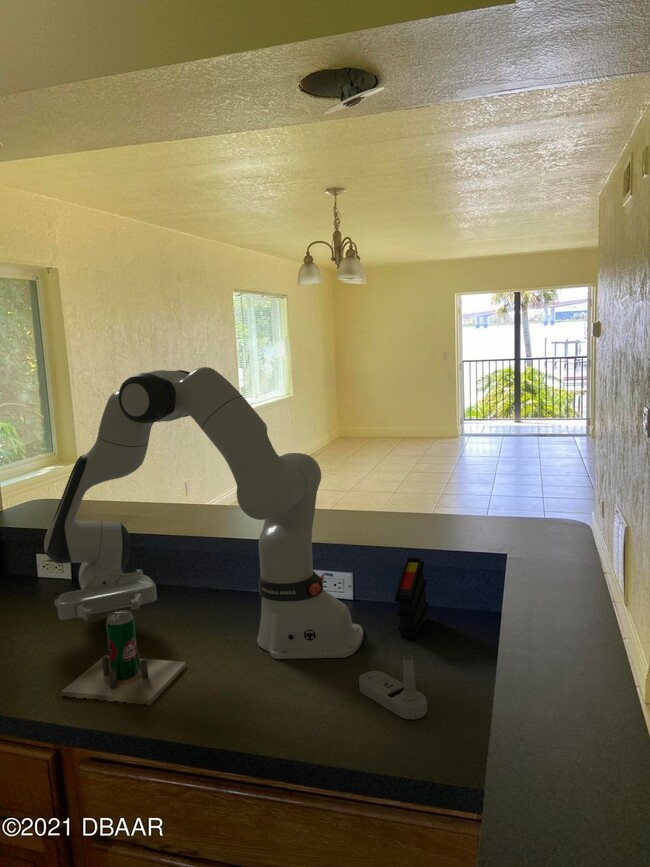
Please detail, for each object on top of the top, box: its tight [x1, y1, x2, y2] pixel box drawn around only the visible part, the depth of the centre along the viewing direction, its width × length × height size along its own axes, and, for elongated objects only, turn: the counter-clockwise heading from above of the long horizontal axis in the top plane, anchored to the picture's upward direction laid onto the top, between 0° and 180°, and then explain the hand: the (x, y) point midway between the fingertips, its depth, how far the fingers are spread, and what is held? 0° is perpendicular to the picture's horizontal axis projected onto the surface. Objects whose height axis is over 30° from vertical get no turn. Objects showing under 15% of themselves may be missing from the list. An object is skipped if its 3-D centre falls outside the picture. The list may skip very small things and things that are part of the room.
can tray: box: [61, 647, 187, 706], centre depth 123 cm, size 18×14×5 cm
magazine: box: [394, 557, 430, 638], centre depth 139 cm, size 4×13×15 cm, turn 157°
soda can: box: [105, 609, 139, 680], centre depth 123 cm, size 5×5×12 cm
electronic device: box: [358, 654, 428, 720], centre depth 112 cm, size 5×10×15 cm
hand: (112, 611), depth 133 cm, fingers open, 8 cm apart
